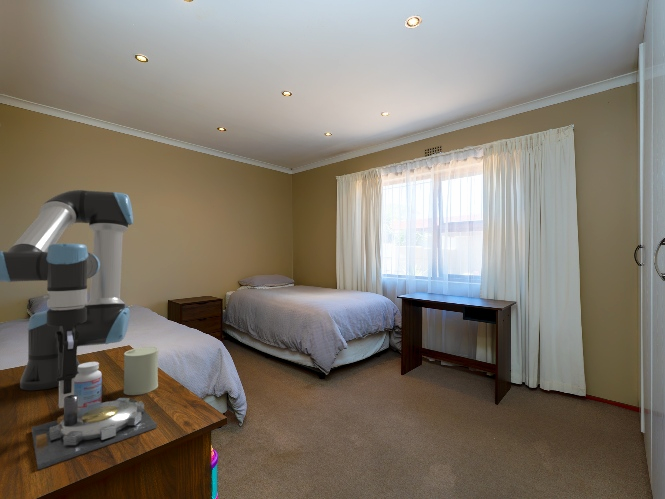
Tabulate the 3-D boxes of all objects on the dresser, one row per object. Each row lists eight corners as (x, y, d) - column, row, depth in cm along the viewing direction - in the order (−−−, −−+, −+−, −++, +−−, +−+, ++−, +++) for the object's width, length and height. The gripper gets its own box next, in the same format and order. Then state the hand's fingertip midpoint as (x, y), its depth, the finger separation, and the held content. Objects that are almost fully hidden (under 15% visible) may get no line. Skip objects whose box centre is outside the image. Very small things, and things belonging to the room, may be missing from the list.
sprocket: (46, 422, 77) (46, 389, 77) (132, 398, 90) (132, 370, 90) (54, 456, 64) (55, 416, 64) (153, 422, 77) (154, 389, 77)
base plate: (31, 431, 75) (31, 422, 75) (134, 401, 90) (134, 394, 90) (37, 470, 62) (37, 458, 62) (156, 427, 77) (156, 418, 77)
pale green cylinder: (127, 385, 102) (127, 347, 102) (160, 381, 105) (160, 344, 105) (119, 397, 93) (120, 355, 93) (155, 392, 96) (156, 352, 97)
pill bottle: (86, 412, 84) (86, 369, 85) (67, 409, 86) (67, 367, 86) (107, 401, 90) (107, 361, 91) (89, 399, 92) (89, 360, 92)
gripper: (44, 306, 80) (43, 401, 80) (49, 312, 71) (48, 421, 70) (82, 302, 85) (81, 392, 85) (91, 308, 76) (90, 409, 76)
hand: (66, 405), depth 78 cm, fingers closed
